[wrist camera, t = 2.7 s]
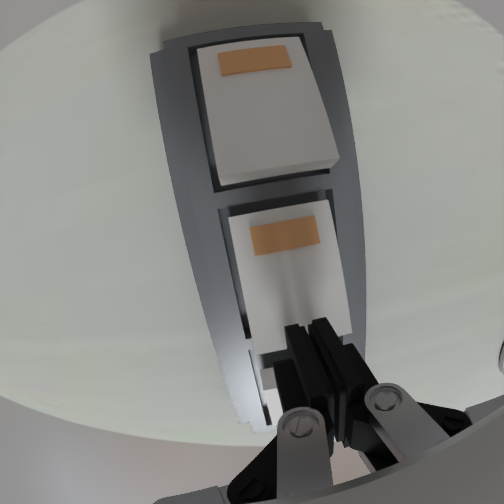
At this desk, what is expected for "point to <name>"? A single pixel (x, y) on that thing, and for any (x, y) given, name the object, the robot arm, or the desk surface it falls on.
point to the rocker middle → (289, 271)
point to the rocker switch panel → (253, 200)
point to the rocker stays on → (264, 110)
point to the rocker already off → (271, 394)
